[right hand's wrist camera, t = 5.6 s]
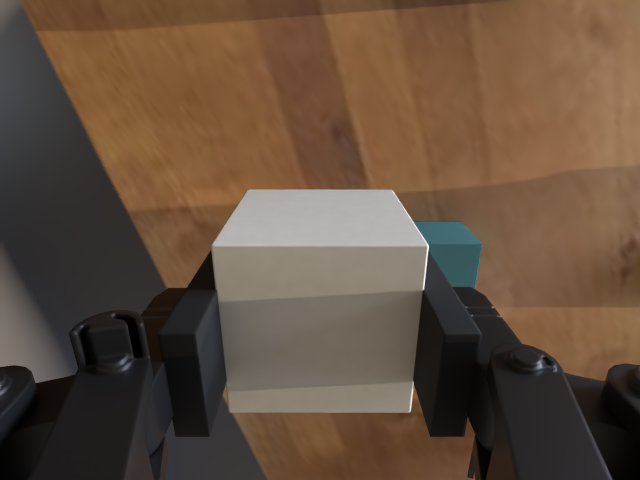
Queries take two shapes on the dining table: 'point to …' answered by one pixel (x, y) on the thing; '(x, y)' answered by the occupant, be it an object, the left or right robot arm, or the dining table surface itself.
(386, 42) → the dining table surface
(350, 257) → the cream block
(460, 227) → the teal block
